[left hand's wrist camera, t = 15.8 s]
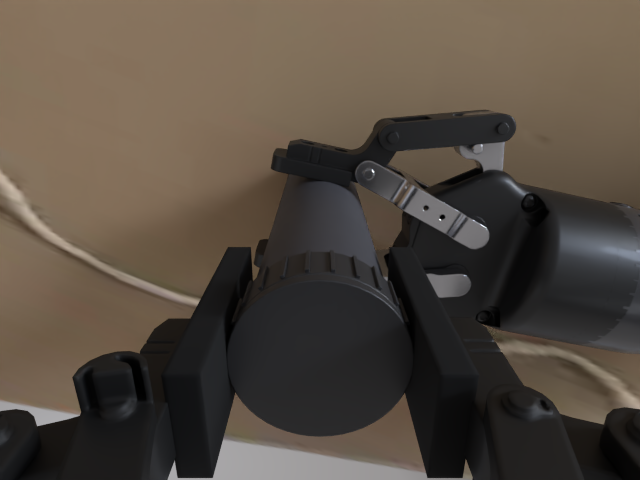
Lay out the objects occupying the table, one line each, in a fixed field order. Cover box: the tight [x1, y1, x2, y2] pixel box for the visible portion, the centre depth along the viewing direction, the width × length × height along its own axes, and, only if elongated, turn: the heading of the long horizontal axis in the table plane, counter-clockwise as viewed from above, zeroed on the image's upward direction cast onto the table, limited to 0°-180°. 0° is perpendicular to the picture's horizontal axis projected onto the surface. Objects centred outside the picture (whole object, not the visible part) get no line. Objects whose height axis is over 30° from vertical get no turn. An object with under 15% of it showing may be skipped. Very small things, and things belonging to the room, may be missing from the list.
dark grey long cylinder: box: [257, 174, 383, 277], centre depth 20 cm, size 4×4×18 cm
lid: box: [226, 250, 414, 437], centre depth 12 cm, size 5×5×2 cm
